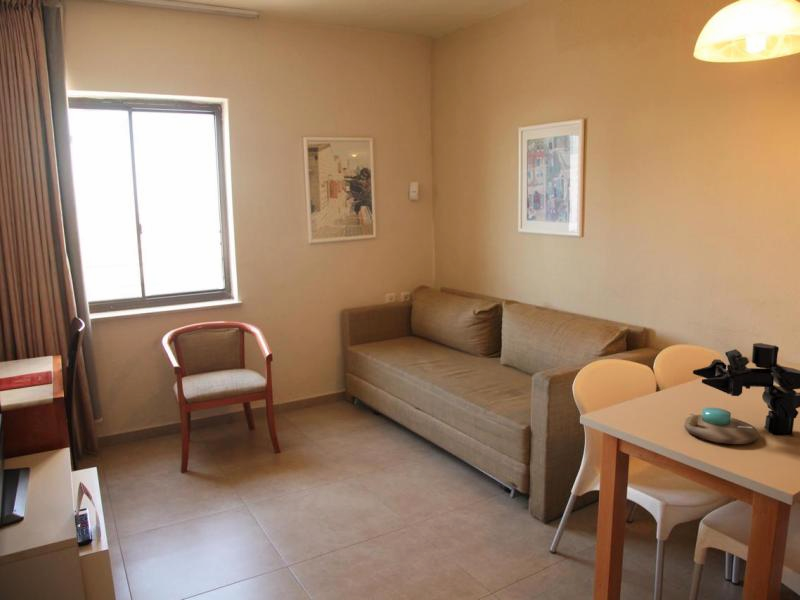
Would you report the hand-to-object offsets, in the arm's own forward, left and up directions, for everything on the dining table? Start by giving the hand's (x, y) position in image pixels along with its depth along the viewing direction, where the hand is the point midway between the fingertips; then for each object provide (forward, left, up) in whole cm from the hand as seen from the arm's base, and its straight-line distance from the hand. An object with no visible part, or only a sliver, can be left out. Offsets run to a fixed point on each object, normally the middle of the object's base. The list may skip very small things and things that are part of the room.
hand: (697, 376), depth 196 cm
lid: (-6, +1, -14) cm, 15 cm away
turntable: (-6, +5, -16) cm, 18 cm away
